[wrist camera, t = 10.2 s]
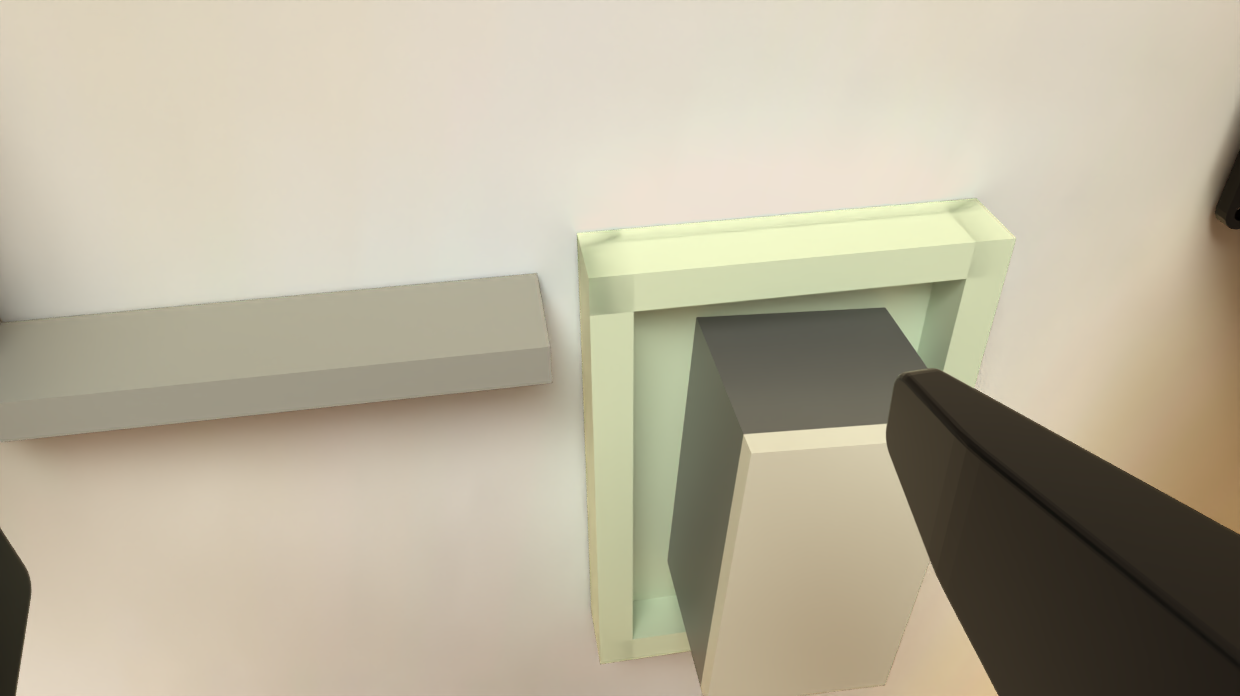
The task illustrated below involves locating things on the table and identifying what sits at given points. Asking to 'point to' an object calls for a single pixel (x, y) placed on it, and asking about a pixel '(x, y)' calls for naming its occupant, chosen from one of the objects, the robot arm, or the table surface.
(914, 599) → the beige gray rectangular block
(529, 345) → the bay
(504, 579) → the table surface
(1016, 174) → the table surface
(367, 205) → the table surface
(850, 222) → the tray
